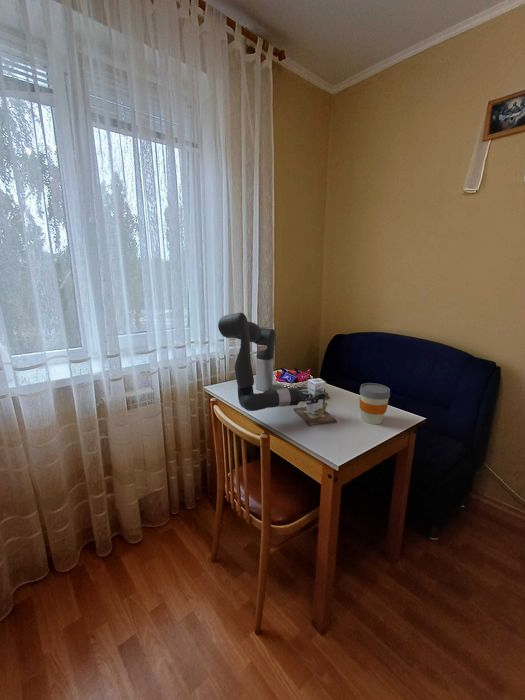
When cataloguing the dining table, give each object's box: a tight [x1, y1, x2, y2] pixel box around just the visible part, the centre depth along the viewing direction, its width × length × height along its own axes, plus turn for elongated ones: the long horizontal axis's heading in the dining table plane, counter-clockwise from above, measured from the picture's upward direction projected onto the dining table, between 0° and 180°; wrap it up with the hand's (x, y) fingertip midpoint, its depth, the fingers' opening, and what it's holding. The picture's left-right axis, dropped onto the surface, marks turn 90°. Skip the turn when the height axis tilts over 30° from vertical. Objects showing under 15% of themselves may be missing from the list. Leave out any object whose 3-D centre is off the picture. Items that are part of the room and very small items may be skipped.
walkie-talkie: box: [306, 386, 329, 406], centre depth 163 cm, size 9×4×20 cm
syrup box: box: [305, 377, 327, 414], centre depth 140 cm, size 6×6×14 cm
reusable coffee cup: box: [358, 382, 391, 425], centre depth 139 cm, size 13×13×15 cm
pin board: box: [293, 402, 338, 427], centre depth 142 cm, size 16×13×6 cm
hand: (320, 393), depth 140 cm, fingers closed on syrup box, 6 cm apart
